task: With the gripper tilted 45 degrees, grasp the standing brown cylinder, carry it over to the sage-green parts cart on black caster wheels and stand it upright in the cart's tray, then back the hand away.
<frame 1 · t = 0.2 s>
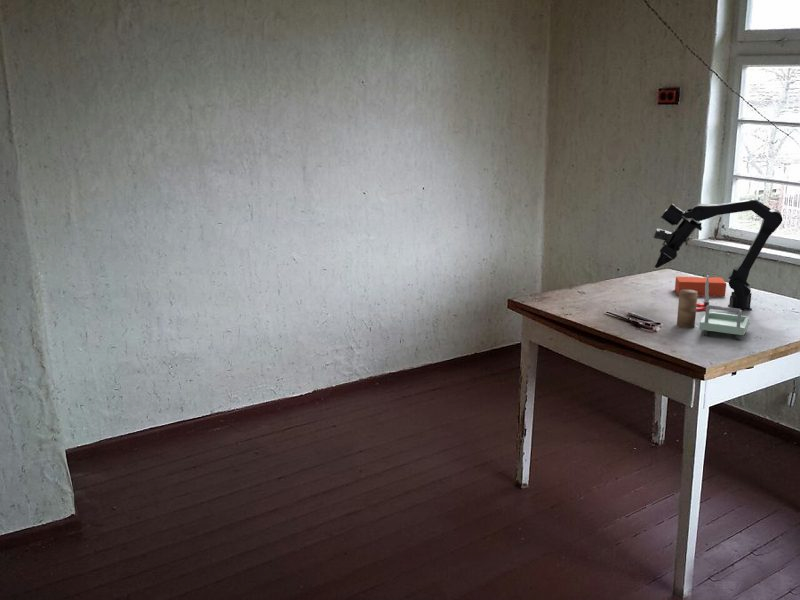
hand: (656, 264, 295), 15 cm above the table, tool tilted 35°, fingers open, 9 cm apart
parts cart: (725, 317, 259), point 6 cm above the table, slide at 0.0 cm
brown cylinder: (685, 325, 269), on the table
brick: (699, 294, 310), on the table
tow hook: (695, 308, 290), on the table
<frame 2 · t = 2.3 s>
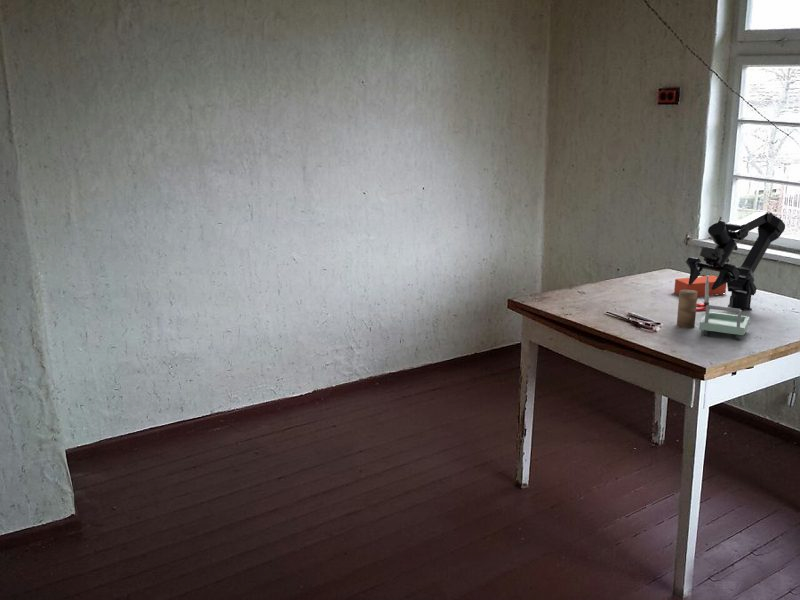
hand: (700, 286, 269), 13 cm above the table, tool tilted 45°, fingers open, 9 cm apart
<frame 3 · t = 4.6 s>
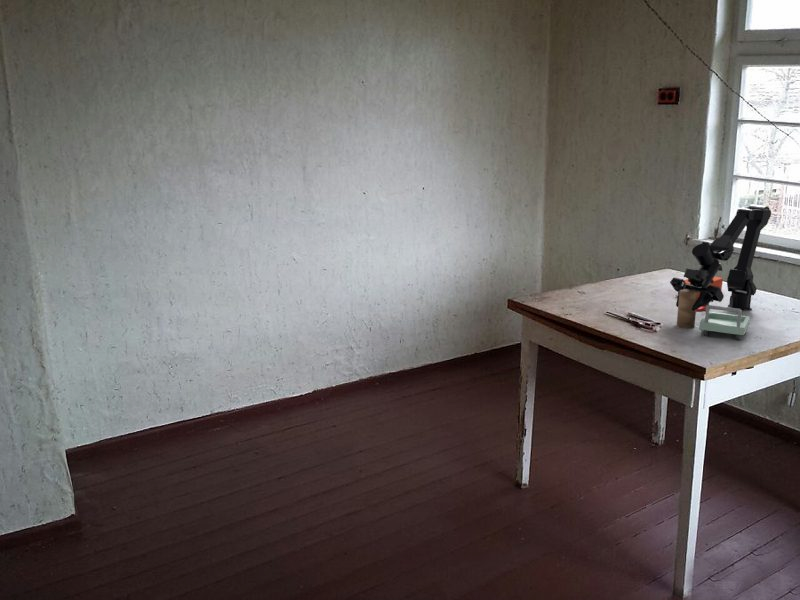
hand: (684, 308, 267), 7 cm above the table, tool tilted 45°, fingers closed on brown cylinder, 6 cm apart
brown cylinder: (685, 325, 269), on the table, touching gripper
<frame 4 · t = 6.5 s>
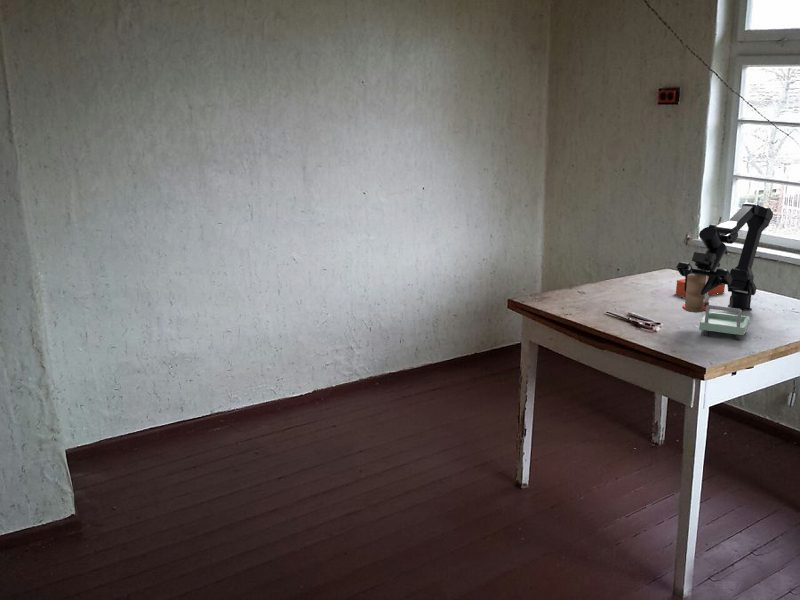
hand: (693, 292, 263), 13 cm above the table, tool tilted 45°, fingers closed on brown cylinder, 6 cm apart
brown cylinder: (693, 310, 266), point 6 cm above the table, touching gripper
when the fingers open (11 cm above the table, at t = 8.3 s): brown cylinder stays where it is, resting on parts cart.
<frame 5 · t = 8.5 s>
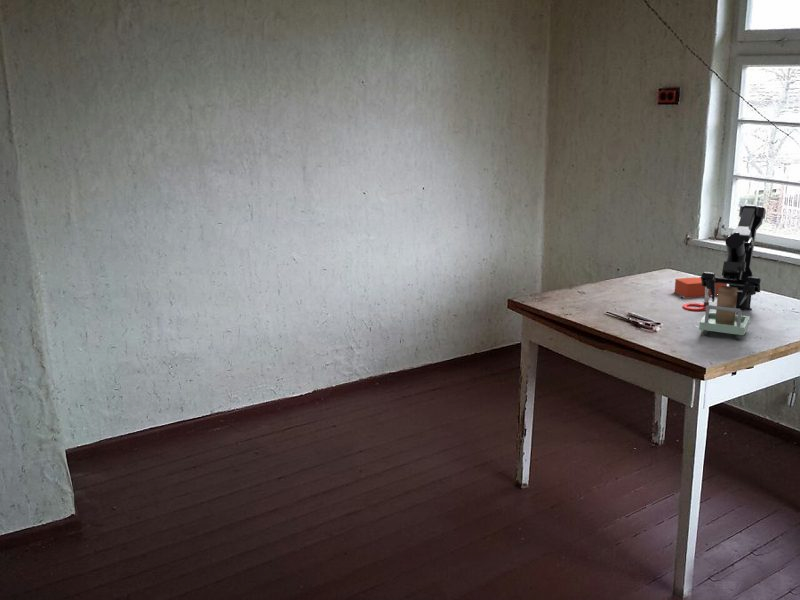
hand: (726, 303, 256), 11 cm above the table, tool tilted 45°, fingers open, 8 cm apart
parts cart: (725, 317, 259), point 6 cm above the table, slide at 0.0 cm, touching brown cylinder
brown cylinder: (724, 323, 260), point 3 cm above the table, touching parts cart
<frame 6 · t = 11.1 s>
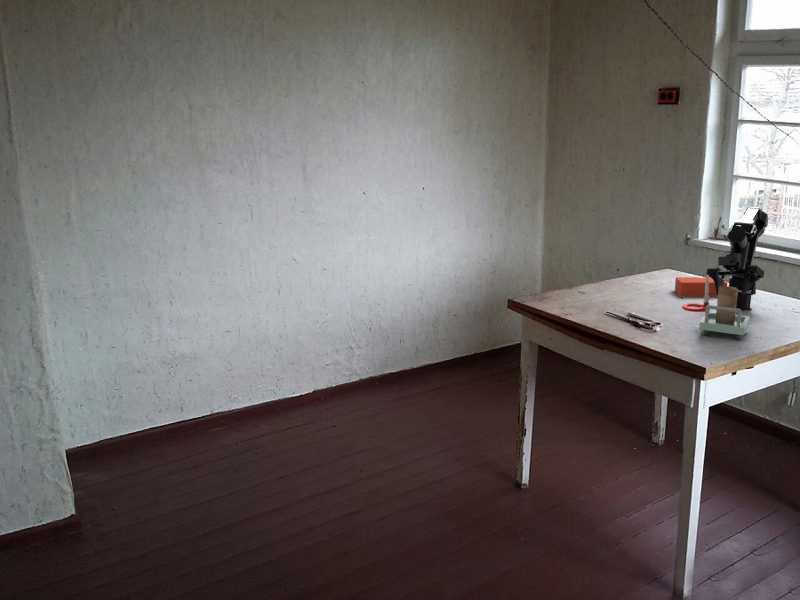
hand: (730, 295, 265), 11 cm above the table, tool tilted 35°, fingers open, 9 cm apart
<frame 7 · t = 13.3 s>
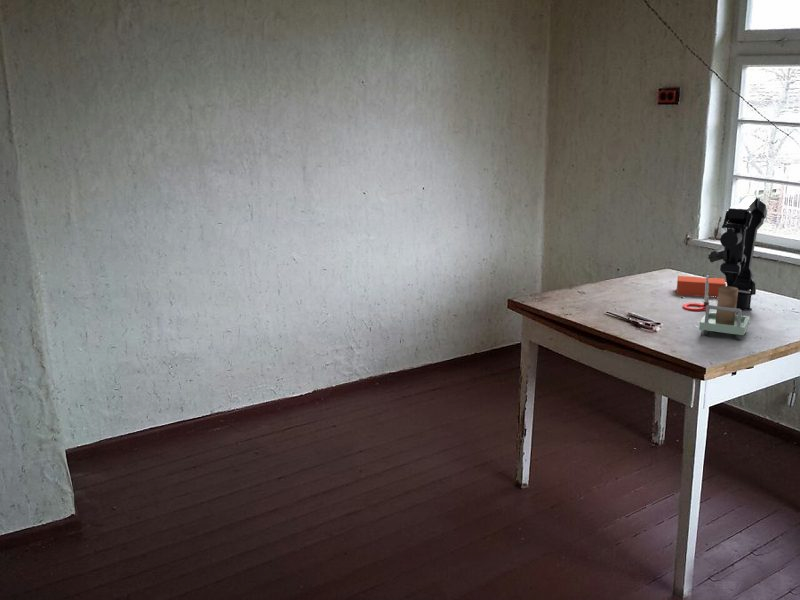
hand: (731, 286, 270), 13 cm above the table, tool pointing down, fingers open, 9 cm apart
at the end: brown cylinder inside the target area on the parts cart (0.1 cm from its centre), point 3.4 cm above the parts cart's base; brown cylinder tilted 1°; the gripper is holding nothing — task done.
